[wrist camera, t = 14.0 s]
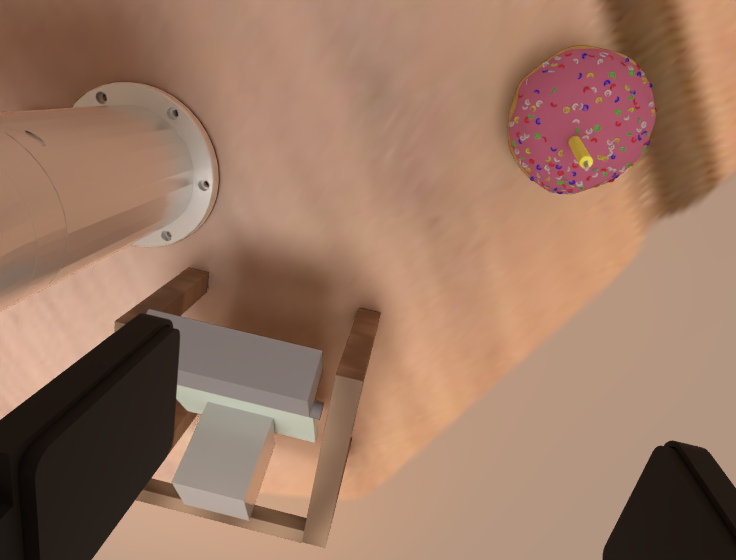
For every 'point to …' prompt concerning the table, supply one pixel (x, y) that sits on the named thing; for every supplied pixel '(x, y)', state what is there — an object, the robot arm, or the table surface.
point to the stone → (226, 461)
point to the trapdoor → (248, 375)
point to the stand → (335, 438)
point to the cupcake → (581, 119)
